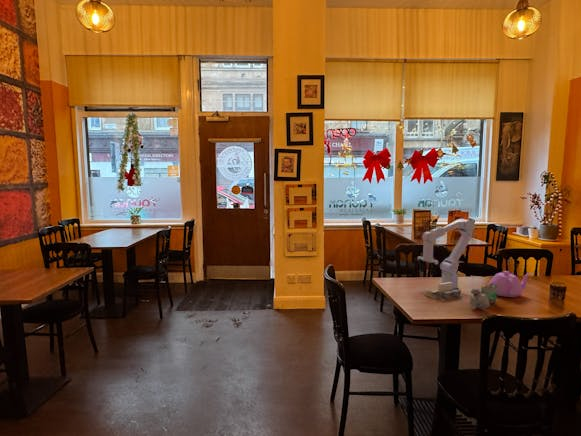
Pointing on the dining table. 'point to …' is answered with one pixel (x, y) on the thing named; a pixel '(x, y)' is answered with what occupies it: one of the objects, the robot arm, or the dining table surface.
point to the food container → (490, 292)
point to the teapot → (509, 284)
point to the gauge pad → (444, 287)
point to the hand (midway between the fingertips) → (427, 273)
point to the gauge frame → (444, 294)
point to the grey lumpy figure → (479, 299)
